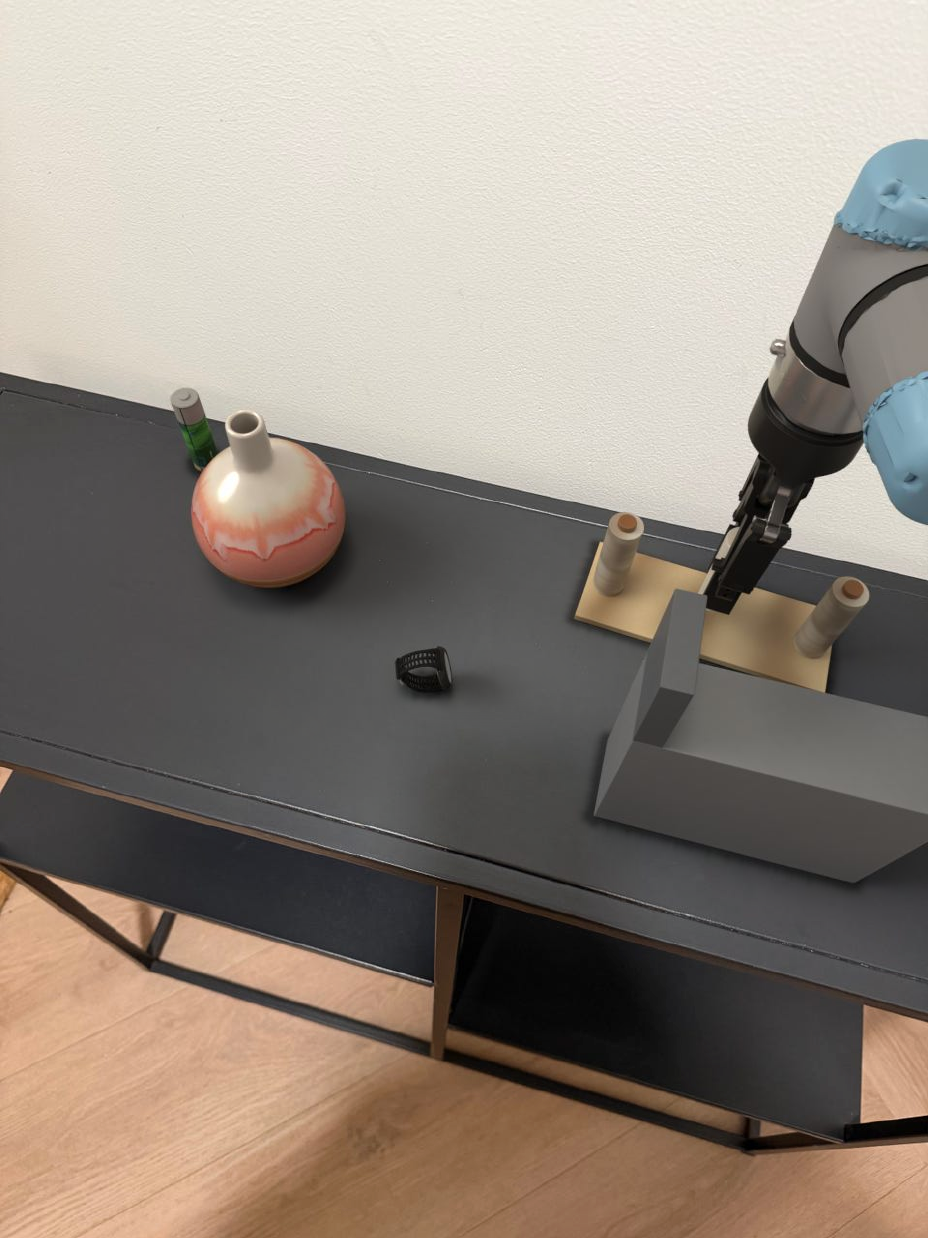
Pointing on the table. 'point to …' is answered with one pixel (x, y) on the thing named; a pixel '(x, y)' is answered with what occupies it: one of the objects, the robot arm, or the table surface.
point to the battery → (194, 426)
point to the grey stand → (762, 762)
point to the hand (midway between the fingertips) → (718, 590)
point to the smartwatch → (440, 665)
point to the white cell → (721, 554)
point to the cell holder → (743, 640)
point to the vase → (266, 507)
